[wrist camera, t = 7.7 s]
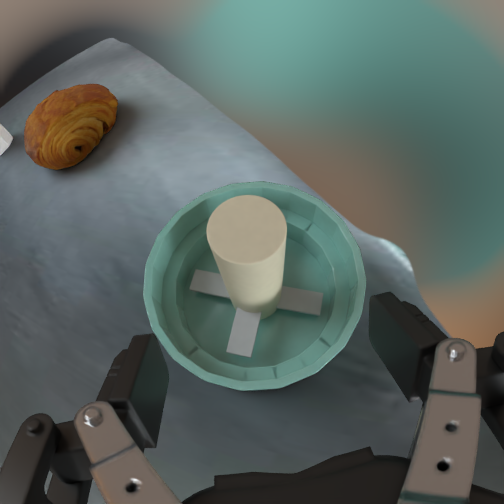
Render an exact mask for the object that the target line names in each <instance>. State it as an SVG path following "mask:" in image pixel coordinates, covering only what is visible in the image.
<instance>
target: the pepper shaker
mask: <svg viewBox="0 0 504 504" xmlns="http://www.w3.org/2000/svg"><path fill="white" fill-rule="evenodd" d="M12 140H13V137H12V136H11V135H10V133H9V132H8V131H7V130H6V129H5V128H4V127H3V126H2V125H1V124H0V155H2V154H3V152H4V151H5V150H6V149H7V148H8V147H9V146H10V144H11V142H12Z"/></svg>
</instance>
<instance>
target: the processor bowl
mask: <svg viewBox="0 0 504 504" xmlns="http://www.w3.org/2000/svg"><path fill="white" fill-rule="evenodd" d="M241 195H255V196H260V197H263V198H266V199H268V200H270V201H271V202H273V203H274V204H275V205H276V206H277V207H278V208H279V209H280V210H281V212H282V213H283V215H284V217H285V220H286V224H287V236H286V248H285V259H284V271H283V282H282V286H286V287H291V288H297V289H303V290H308V291H314V292H319V293H323V299H322V306H321V312H320V316H317V315H311V314H305V313H300V312H294V311H289V310H283V309H278V308H277V310H276V311H275V312H274V313H273V314H272V315H271V316H269V317H267V318H265V319H261V320H260V323H259V327H258V331H257V336H256V340H255V344H254V349H253V353H252V357H251V358H248V357H244V356H239V355H235V354H230V353H227V352H226V350H227V346H228V342H229V338H230V334H231V330H232V326H233V322H234V318H235V314H236V310H235V308H234V306H233V304H232V302H231V299H228V298H223V297H218V296H214V295H209V294H204V293H200V292H195V291H191V290H190V285H191V282H192V279H193V275H194V272H195V269H198V270H203V271H208V272H213V273H218V274H220V271H219V269H218V266H217V263H216V261H215V258H214V256H213V253H212V250H211V248H210V245H209V243H208V240H207V232H206V230H207V224H208V221H209V218H210V216H211V215H212V213H213V212H214V210H215V209H216V208H217V207H218V206H219V205H220V204H222V203H223V202H225V201H226V200H228V199H230V198H233V197H236V196H241ZM365 289H366V276H365V271H364V266H363V261H362V256H361V252H360V249H359V246H358V244H357V243H356V241H355V239H354V238H353V236H352V234H351V232H350V231H349V229H348V227H347V226H346V224H345V222H343V220H342V219H341V218H340V217H339V216H338V215H337V214H335V213H334V212H333V211H332V210H331V209H330V208H329V207H328V206H327V205H326V204H324V203H323V202H322V201H320V200H319V199H317V198H315V197H313V196H311V195H309V194H307V193H305V192H303V191H301V190H299V189H296V188H294V187H292V186H287V185H281V184H276V183H270V182H264V181H263V182H262V181H260V182H247V183H235V184H230V185H227V186H224V187H221V188H218V189H215V190H213V191H210V192H207V193H204V194H203V195H201V196H199V197H198V198H196V199H195V200H193V201H192V202H190V203H189V204H188V205H186V206H185V207H183V208H182V209H180V210H179V211H178V212H177V213H176V214H175V215H174V216H173V217H172V219H171V220H170V221H169V222H168V223H167V225H166V226H165V227H164V228H163V230H162V231H161V232H160V233H159V235H158V236H157V238H156V241H155V243H154V245H153V248H152V250H151V253H150V255H149V258H148V260H147V263H146V265H145V278H144V292H143V298H144V302H145V306H146V310H147V313H148V317H149V321H150V324H151V328H152V330H153V332H154V333H155V335H156V336H157V338H158V339H159V340H160V342H161V343H162V345H163V346H164V348H165V349H166V351H167V352H168V353H169V355H170V356H171V357H172V358H173V359H174V360H175V361H176V362H178V363H179V364H180V365H182V366H183V367H185V368H186V369H187V370H189V371H190V372H192V373H193V374H195V375H196V376H197V377H199V378H200V379H202V380H204V381H207V382H211V383H214V384H218V385H221V386H225V387H228V388H232V389H236V390H240V391H247V392H248V391H265V390H277V389H281V388H283V387H286V386H288V385H291V384H293V383H295V382H298V381H300V380H302V379H305V378H307V377H309V376H311V375H313V374H315V373H317V372H318V371H319V370H320V369H321V368H323V367H324V366H325V365H326V364H327V363H328V362H329V361H330V360H331V359H332V358H333V357H335V356H336V355H337V354H338V353H339V352H340V351H341V350H342V349H343V348H344V347H345V346H346V344H347V342H348V340H349V338H350V337H351V335H352V333H353V331H354V329H355V327H356V325H357V323H358V321H359V319H360V317H361V314H362V310H363V303H364V296H365Z"/></svg>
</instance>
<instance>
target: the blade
mask: <svg viewBox="0 0 504 504" xmlns="http://www.w3.org/2000/svg"><path fill="white" fill-rule="evenodd" d="M206 232H207V240H208V243H209V245H210V248H211V250H212V253H213V256H214V258H215V261H216V263H217V266H218V269H219V271H220V274H218V273H213V272H208V271H203V270H198V269H195V272H194V275H193V279H192V282H191V285H190V290H191V291H195V292H200V293H204V294H209V295H214V296H218V297H223V298H228V299H231V302H232V304H233V306H234V308H235V310H236V314H235V318H234V322H233V326H232V330H231V334H230V338H229V342H228V346H227V350H226V352H227V353H230V354H235V355H239V356H244V357H248V358H251V357H252V353H253V349H254V344H255V340H256V336H257V331H258V327H259V323H260V320H261V319H265V318H267V317H269V316H271V315H272V314H273V313H274V312H275V311H276V310H277V308H278V309H283V310H289V311H294V312H300V313H305V314H311V315H317V316H320V312H321V306H322V299H323V293H319V292H314V291H308V290H303V289H297V288H291V287H286V286H282V282H283V271H284V259H285V248H286V236H287V224H286V220H285V217H284V215H283V213H282V212H281V210H280V209H279V208H278V207H277V206H276V205H275V204H274V203H273V202H271V201H270V200H268V199H266V198H263V197H260V196H255V195H241V196H236V197H233V198H230V199H228V200H226V201H225V202H223V203H222V204H220V205H219V206H218V207H217V208H216V209H215V210H214V212H213V213H212V215H211V216H210V218H209V221H208V224H207V230H206Z"/></svg>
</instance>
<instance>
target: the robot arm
mask: <svg viewBox="0 0 504 504" xmlns="http://www.w3.org/2000/svg"><path fill="white" fill-rule="evenodd" d="M369 337H370V341H371V344H372V346H373V348H374V349H375V351H376V352H377V354H378V355H379V357H380V358H381V360H382V361H383V363H384V364H385V366H386V367H387V369H388V370H389V372H390V373H391V375H392V377H393V378H394V380H395V381H396V383H397V384H398V386H399V387H400V389H401V390H402V392H403V394H404V395H405V397H406V398H407V400H408V401H409V403H410V402H412V401H415V400H418V399H421V400H422V402H423V404H422V408H421V412H420V416H419V419H418V423H417V427H416V431H415V434H414V438H413V441H412V444H411V448H410V451H409V454H408V456H407V458H404V457H398V456H390V455H377V456H374V455H373V452H372V450H371V448H370V446H369V447H366V448H363V449H360V450H356V451H353V452H349V453H346V454H342V455H338V456H334V457H332V458H330V459H328V460H325V461H323V462H321V463H319V464H317V465H315V466H312V467H310V468H308V469H305V470H303V471H301V472H298V473H294V474H284V473H262V472H248V473H239V474H229V475H217V476H214V486H212V487H209V488H206V489H204V490H201V491H199V492H197V493H195V494H193V495H192V496H190V497H188V498H187V499H185V500H184V501H183V502H182V503H181V501H180V500H179V499H178V498H177V497H176V495H175V494H174V493H173V492H172V491H171V489H170V488H169V487H168V486H167V485H166V483H165V482H164V481H163V480H162V478H161V477H160V476H159V474H158V473H157V472H156V471H155V469H154V468H153V467H152V465H151V464H150V463H149V461H148V460H147V458H146V457H145V456H144V454H143V453H144V448H156V446H157V440H158V434H159V429H160V424H161V418H162V413H163V408H164V403H165V398H166V393H167V388H168V383H169V373H168V368H167V365H166V362H165V360H164V357H163V354H162V352H161V349H160V346H159V343H158V341H157V338H156V336H155V335H154V334H144V335H135V336H133V338H132V340H131V343H130V345H129V347H128V349H125V350H122V351H121V352H120V353H119V354H118V355H117V356H116V357H115V359H114V361H113V363H112V365H111V367H110V368H111V369H110V370H109V372H108V374H107V377H106V379H105V381H104V383H103V385H102V388H101V390H100V392H99V395H98V397H97V399H96V401H95V402H91V403H88V404H86V405H84V406H83V407H82V408H80V409H79V410H78V412H77V413H76V415H75V417H74V420H72V421H68V422H63V423H58V424H55V423H54V421H53V420H52V419H51V417H50V416H49V415H47V414H43V413H39V414H35V415H32V416H30V417H29V418H27V419H26V420H25V421H24V422H23V423H22V425H21V427H20V429H19V431H18V433H17V435H16V437H15V439H14V441H13V443H12V446H11V448H10V450H9V452H8V454H7V457H6V459H5V461H4V464H3V466H2V468H1V471H0V504H87V502H88V497H89V492H90V487H91V483H92V479H94V481H95V483H96V485H97V487H98V488H99V490H100V492H101V494H102V496H103V498H104V500H105V502H106V503H107V504H504V494H501V493H498V492H494V491H491V490H488V489H485V488H482V487H479V486H477V485H474V484H472V479H473V473H474V467H475V460H476V453H477V446H478V437H479V426H480V414H481V416H482V417H483V419H484V420H485V422H486V423H487V425H488V426H489V428H490V429H491V431H492V432H493V434H494V436H495V437H496V439H497V440H498V442H499V443H500V445H501V446H502V448H503V450H504V332H501V333H500V334H498V335H497V336H496V339H495V342H494V346H492V347H485V348H478V349H475V347H474V346H473V345H472V344H471V343H470V342H468V341H466V340H464V339H460V338H448V337H447V336H446V335H445V334H444V333H443V332H442V331H441V330H440V329H439V328H438V327H437V326H436V325H435V324H434V323H433V322H432V321H431V320H430V321H429V318H428V317H427V316H426V315H423V313H422V312H421V311H420V310H419V309H418V308H417V307H416V306H414V305H412V304H410V303H408V302H406V301H403V302H401V301H400V300H399V299H398V298H397V297H396V296H395V295H394V294H393V293H391V292H386V293H382V294H378V295H373V296H371V298H370V313H369ZM49 470H50V471H51V472H52V473H53V475H52V478H51V481H50V485H49V488H48V491H47V495H45V492H44V485H45V481H46V478H47V475H48V472H49Z"/></svg>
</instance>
